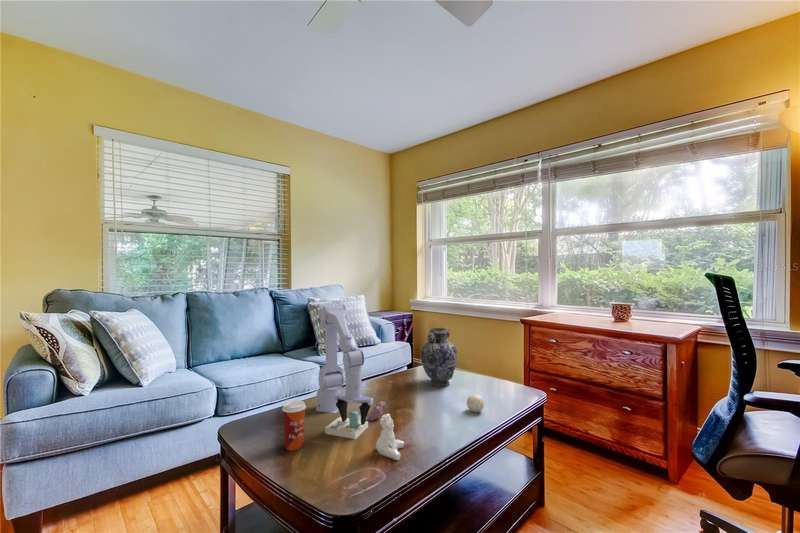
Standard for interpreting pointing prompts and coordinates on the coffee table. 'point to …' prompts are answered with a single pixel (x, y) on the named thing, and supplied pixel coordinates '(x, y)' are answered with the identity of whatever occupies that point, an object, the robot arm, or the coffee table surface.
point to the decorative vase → (439, 357)
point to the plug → (353, 419)
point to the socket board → (345, 428)
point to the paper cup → (294, 424)
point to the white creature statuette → (388, 439)
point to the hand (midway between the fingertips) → (353, 422)
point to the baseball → (475, 403)
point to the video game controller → (377, 411)
